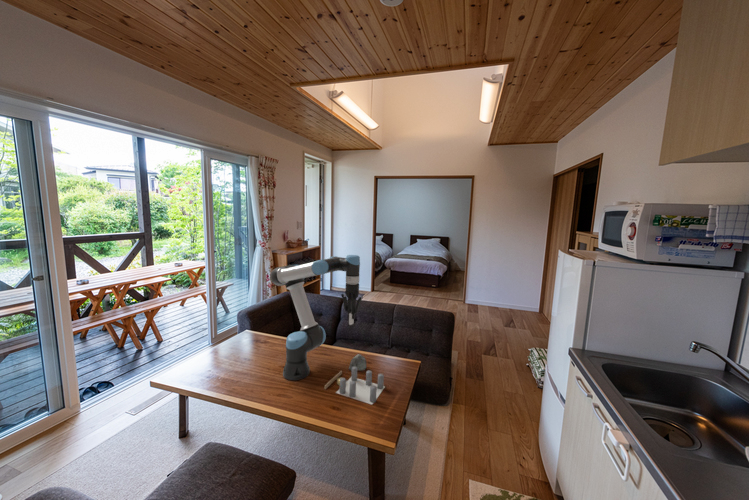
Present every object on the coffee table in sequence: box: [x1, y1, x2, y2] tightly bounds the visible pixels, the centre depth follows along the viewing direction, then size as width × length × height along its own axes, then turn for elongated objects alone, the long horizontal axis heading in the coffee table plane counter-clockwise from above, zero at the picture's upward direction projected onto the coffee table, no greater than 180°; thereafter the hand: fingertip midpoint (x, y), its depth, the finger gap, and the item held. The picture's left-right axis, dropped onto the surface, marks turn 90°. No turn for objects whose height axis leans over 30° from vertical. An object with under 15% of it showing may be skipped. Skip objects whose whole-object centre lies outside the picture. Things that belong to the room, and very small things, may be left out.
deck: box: [323, 367, 386, 405], centre depth 153 cm, size 29×17×8 cm, turn 66°
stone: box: [348, 353, 368, 372], centre depth 174 cm, size 10×10×10 cm
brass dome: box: [336, 376, 344, 387], centre depth 157 cm, size 4×4×2 cm
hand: (351, 323), depth 161 cm, fingers closed
